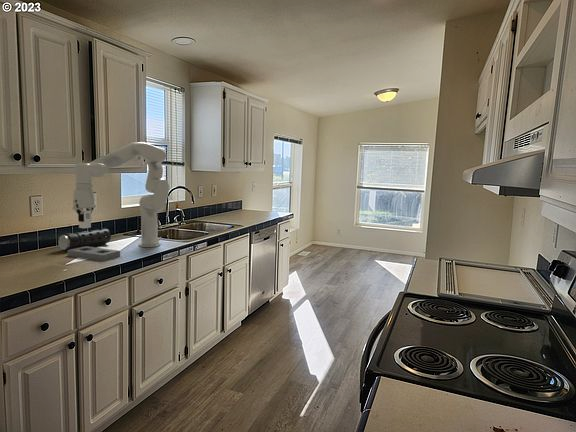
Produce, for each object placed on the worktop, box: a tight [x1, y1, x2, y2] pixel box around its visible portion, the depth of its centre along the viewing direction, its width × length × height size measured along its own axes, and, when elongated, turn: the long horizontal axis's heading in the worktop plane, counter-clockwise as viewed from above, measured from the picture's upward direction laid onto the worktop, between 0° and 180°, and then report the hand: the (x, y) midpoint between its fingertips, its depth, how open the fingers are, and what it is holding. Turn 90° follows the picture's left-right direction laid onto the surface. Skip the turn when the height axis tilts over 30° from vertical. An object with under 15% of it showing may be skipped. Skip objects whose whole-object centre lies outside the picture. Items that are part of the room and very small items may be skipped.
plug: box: [78, 209, 92, 229], centre depth 206 cm, size 4×5×9 cm
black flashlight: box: [57, 228, 112, 251], centre depth 226 cm, size 10×28×10 cm, turn 154°
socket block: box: [66, 246, 121, 262], centre depth 206 cm, size 12×24×4 cm, turn 70°
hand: (84, 220), depth 206 cm, fingers closed on plug, 4 cm apart
